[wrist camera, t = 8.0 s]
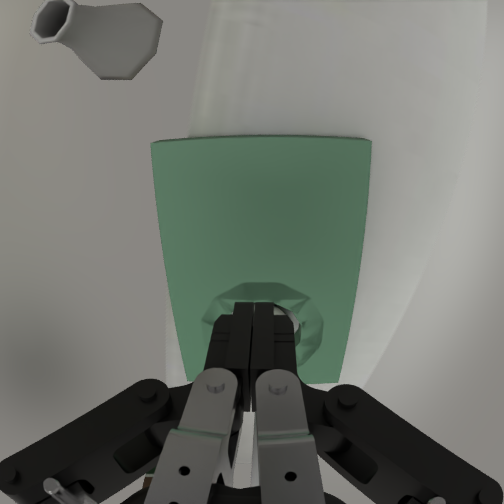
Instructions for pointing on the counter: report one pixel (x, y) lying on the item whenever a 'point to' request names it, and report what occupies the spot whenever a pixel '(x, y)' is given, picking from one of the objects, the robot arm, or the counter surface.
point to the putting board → (264, 238)
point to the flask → (101, 35)
